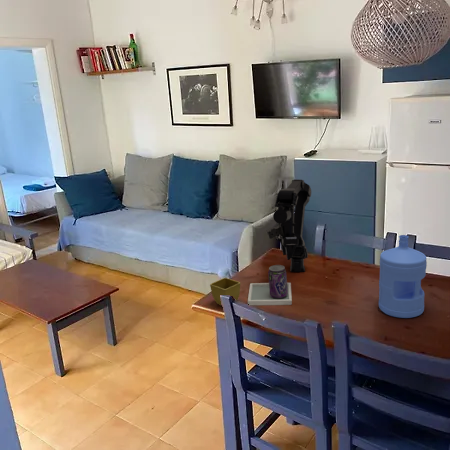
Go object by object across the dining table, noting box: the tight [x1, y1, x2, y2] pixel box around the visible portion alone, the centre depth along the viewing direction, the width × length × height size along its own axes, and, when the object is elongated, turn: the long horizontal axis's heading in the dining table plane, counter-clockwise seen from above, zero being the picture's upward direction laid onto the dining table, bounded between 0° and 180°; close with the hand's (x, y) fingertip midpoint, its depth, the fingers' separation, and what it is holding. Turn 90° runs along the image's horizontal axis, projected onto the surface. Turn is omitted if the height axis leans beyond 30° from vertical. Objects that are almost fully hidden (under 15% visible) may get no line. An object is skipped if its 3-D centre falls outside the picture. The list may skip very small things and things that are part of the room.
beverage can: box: [268, 264, 288, 298], centre depth 186 cm, size 7×7×12 cm
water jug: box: [378, 234, 428, 319], centre depth 168 cm, size 16×16×28 cm
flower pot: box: [209, 277, 241, 306], centre depth 184 cm, size 9×9×9 cm
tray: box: [247, 282, 293, 306], centre depth 190 cm, size 17×17×2 cm
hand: (286, 257), depth 195 cm, fingers open, 9 cm apart
